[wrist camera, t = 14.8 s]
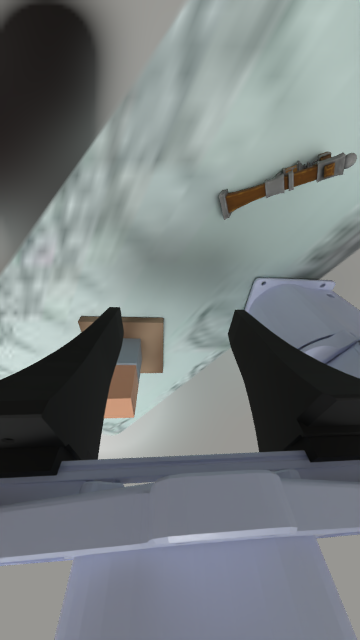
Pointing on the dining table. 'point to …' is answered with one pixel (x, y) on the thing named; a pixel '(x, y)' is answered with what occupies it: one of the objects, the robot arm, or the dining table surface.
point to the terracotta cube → (122, 392)
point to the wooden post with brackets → (288, 180)
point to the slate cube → (131, 354)
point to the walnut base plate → (149, 335)
